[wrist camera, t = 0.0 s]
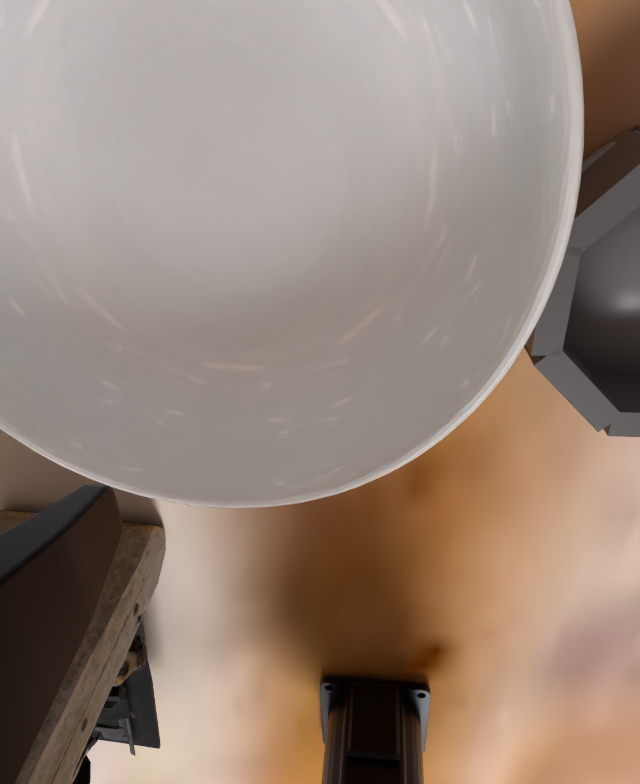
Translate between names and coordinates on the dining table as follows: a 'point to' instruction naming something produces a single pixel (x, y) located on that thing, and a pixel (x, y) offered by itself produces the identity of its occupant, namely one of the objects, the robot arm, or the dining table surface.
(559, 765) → the dining table surface
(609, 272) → the socket ring
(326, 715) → the robot arm
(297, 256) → the serving bowl
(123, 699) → the vintage camera
